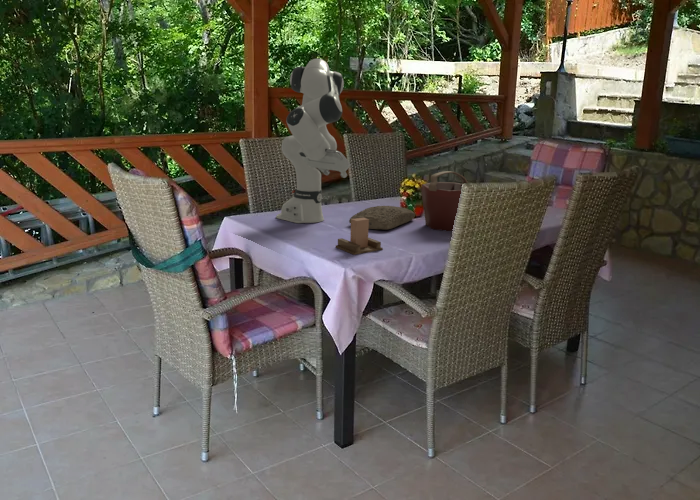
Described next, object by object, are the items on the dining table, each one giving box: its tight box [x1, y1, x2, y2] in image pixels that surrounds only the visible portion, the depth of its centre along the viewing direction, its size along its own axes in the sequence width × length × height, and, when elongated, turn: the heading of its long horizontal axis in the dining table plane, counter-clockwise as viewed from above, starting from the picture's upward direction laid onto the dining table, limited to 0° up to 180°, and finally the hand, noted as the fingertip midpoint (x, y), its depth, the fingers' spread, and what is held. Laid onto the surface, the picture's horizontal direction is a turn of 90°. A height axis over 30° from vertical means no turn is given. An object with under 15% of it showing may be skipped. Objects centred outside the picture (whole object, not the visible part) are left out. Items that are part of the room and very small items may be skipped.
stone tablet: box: [348, 205, 416, 231], centre depth 289 cm, size 20×8×30 cm
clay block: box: [350, 218, 369, 248], centre depth 246 cm, size 6×4×11 cm, turn 126°
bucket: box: [421, 170, 469, 232], centre depth 285 cm, size 24×22×25 cm
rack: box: [335, 236, 383, 256], centre depth 247 cm, size 14×12×3 cm
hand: (336, 175), depth 235 cm, fingers open, 8 cm apart
